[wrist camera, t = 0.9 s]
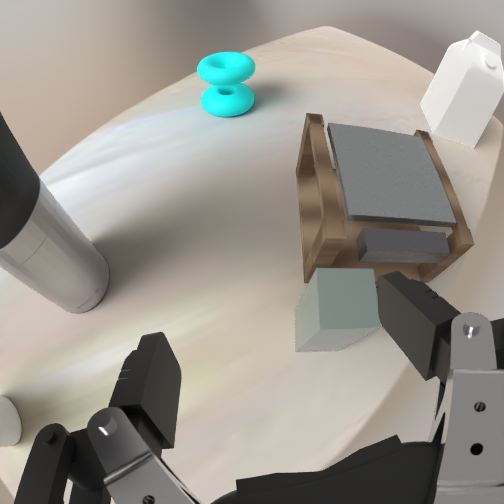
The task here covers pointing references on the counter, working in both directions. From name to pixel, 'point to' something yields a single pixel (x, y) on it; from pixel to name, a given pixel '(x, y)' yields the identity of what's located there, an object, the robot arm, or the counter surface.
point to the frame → (346, 231)
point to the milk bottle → (9, 423)
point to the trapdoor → (391, 193)
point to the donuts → (227, 83)
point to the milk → (465, 90)
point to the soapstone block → (336, 309)
